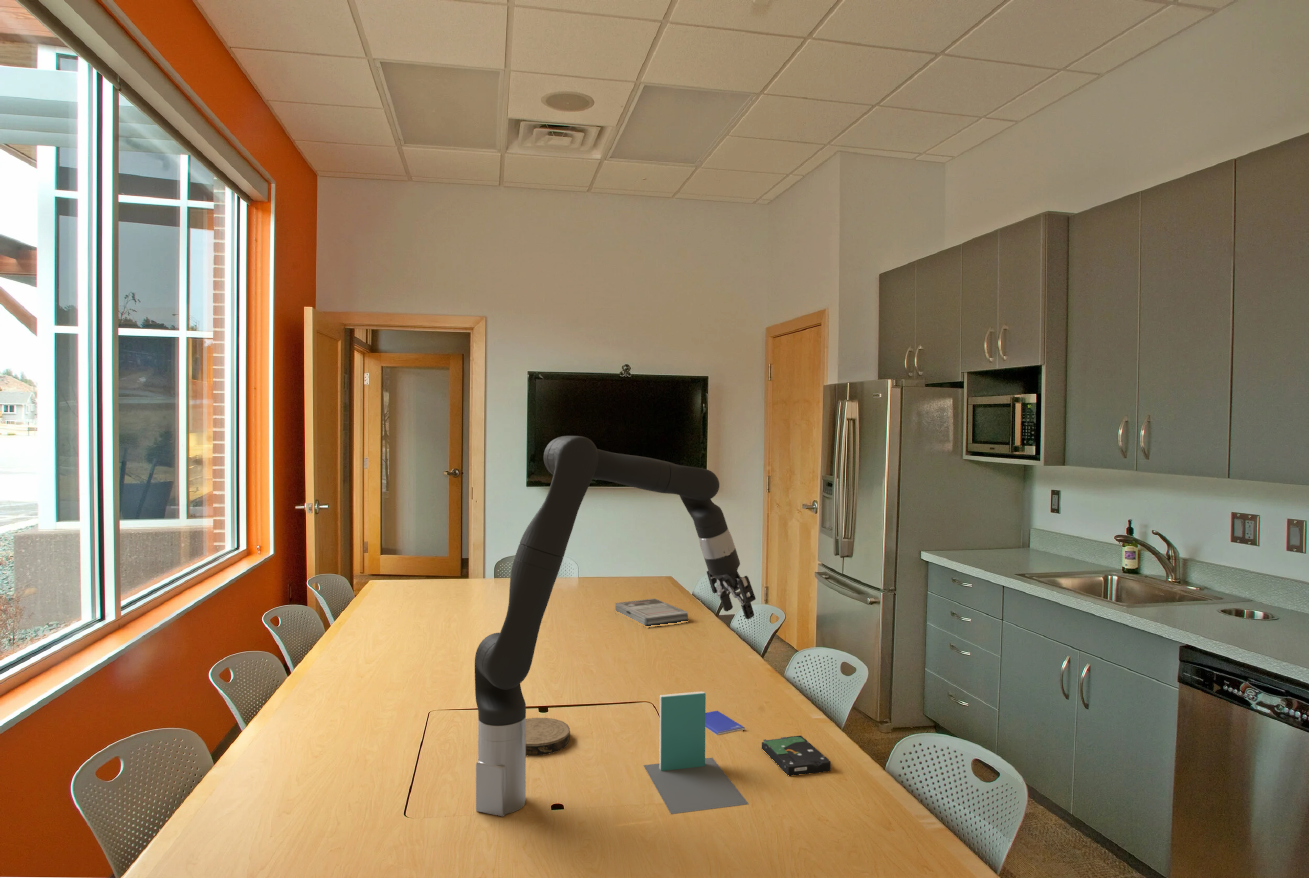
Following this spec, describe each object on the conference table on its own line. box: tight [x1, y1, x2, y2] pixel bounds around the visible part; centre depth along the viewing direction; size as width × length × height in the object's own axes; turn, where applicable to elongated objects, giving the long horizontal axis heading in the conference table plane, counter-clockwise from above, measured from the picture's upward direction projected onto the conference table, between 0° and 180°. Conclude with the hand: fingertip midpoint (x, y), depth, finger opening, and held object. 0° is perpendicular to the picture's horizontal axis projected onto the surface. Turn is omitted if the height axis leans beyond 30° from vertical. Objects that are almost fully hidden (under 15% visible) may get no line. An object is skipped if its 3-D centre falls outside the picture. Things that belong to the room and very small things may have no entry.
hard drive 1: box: [614, 598, 689, 626], centre depth 302 cm, size 18×27×4 cm
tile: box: [658, 690, 707, 771], centre depth 169 cm, size 2×10×16 cm, turn 105°
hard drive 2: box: [705, 710, 746, 736], centre depth 194 cm, size 2×8×12 cm
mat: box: [643, 757, 749, 815], centre depth 161 cm, size 22×16×1 cm
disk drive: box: [761, 735, 832, 777], centre depth 174 cm, size 10×3×15 cm
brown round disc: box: [526, 717, 571, 757], centre depth 183 cm, size 16×16×3 cm
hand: (739, 613), depth 180 cm, fingers open, 8 cm apart
